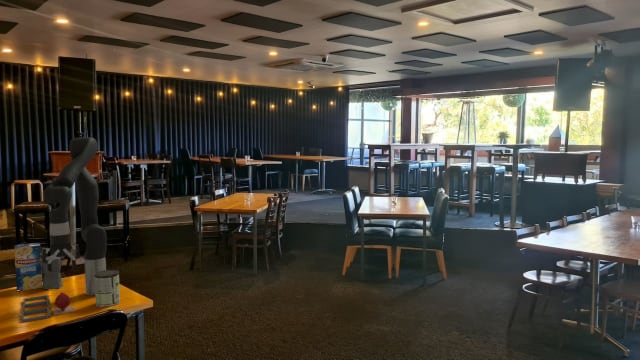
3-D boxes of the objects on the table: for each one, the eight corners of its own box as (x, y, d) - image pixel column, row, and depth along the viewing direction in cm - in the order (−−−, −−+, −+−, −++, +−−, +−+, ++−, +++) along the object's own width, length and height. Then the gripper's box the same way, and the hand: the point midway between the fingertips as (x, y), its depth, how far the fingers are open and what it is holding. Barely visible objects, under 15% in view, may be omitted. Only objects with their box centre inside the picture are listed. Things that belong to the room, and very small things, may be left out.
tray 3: (48, 310, 207) (48, 308, 207) (50, 317, 198) (50, 314, 198) (21, 315, 201) (21, 312, 201) (22, 322, 193) (22, 319, 193)
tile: (72, 306, 212) (72, 305, 212) (75, 311, 205) (74, 310, 205) (52, 310, 207) (52, 308, 207) (53, 315, 201) (53, 314, 200)
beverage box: (42, 288, 240) (40, 245, 238) (16, 291, 235) (14, 247, 233) (42, 285, 246) (40, 242, 244) (17, 288, 240) (14, 245, 239)
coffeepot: (37, 291, 234) (35, 255, 233) (38, 286, 243) (36, 252, 241) (72, 287, 241) (70, 252, 240) (72, 282, 250) (70, 248, 248)
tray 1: (48, 297, 225) (48, 294, 225) (49, 303, 217) (49, 300, 217) (23, 301, 220) (23, 298, 220) (24, 307, 211) (23, 304, 211)
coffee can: (96, 300, 220) (95, 270, 219) (121, 298, 223) (119, 268, 222) (93, 308, 210) (92, 276, 209) (119, 305, 213) (118, 274, 212)
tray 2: (48, 303, 216) (48, 301, 216) (50, 310, 208) (50, 307, 208) (22, 308, 211) (22, 305, 210) (23, 314, 202) (23, 311, 202)
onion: (59, 307, 209) (58, 289, 208) (72, 307, 209) (72, 289, 209) (52, 312, 203) (52, 294, 202) (66, 311, 203) (66, 293, 203)
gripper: (77, 229, 211) (79, 265, 212) (40, 233, 203) (42, 271, 204) (79, 232, 205) (81, 269, 206) (41, 236, 197) (43, 275, 198)
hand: (62, 270), depth 205 cm, fingers open, 8 cm apart
